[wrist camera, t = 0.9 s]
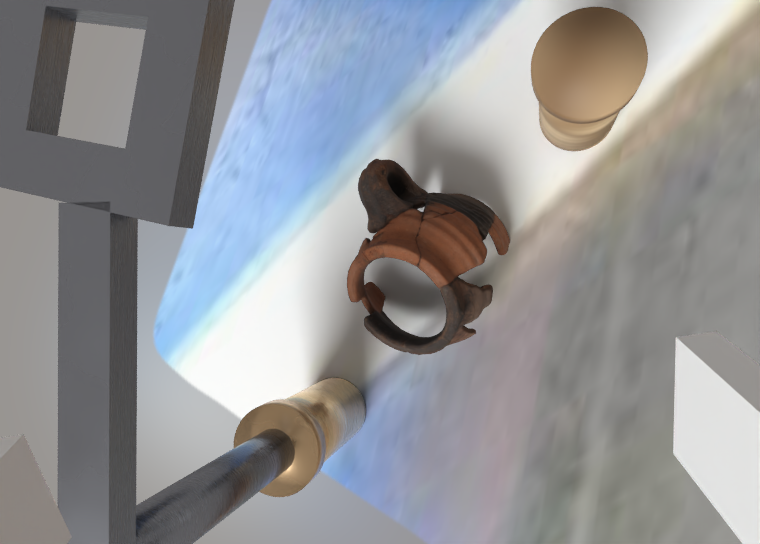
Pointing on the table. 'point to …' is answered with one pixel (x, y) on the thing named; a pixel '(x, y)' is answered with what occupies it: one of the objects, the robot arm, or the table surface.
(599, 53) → the oak collar post
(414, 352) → the broken brown pot
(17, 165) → the aperture bracket
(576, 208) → the table surface
